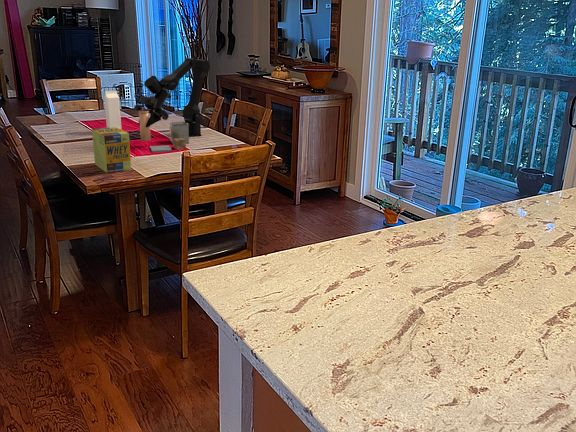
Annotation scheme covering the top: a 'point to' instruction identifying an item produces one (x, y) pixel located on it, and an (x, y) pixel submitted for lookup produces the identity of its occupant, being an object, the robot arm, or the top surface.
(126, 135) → the protein box
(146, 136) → the canister
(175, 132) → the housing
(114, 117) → the milk
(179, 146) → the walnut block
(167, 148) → the pad
